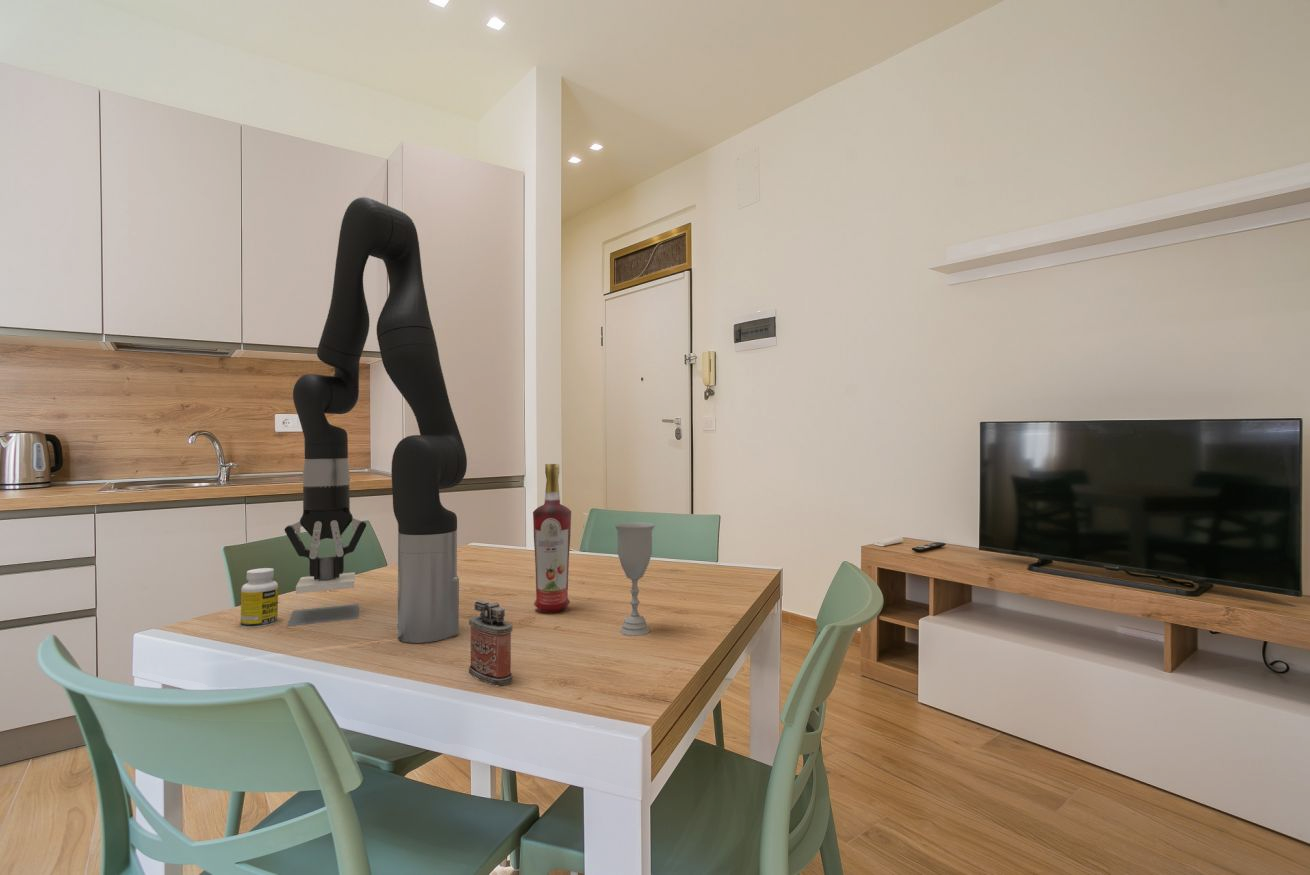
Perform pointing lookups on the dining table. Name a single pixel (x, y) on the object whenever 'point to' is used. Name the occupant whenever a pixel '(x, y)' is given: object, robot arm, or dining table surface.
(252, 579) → the supplement bottle
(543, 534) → the liquor
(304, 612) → the mat
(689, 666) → the dining table surface
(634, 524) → the chalice
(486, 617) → the lighter
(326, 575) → the lid
